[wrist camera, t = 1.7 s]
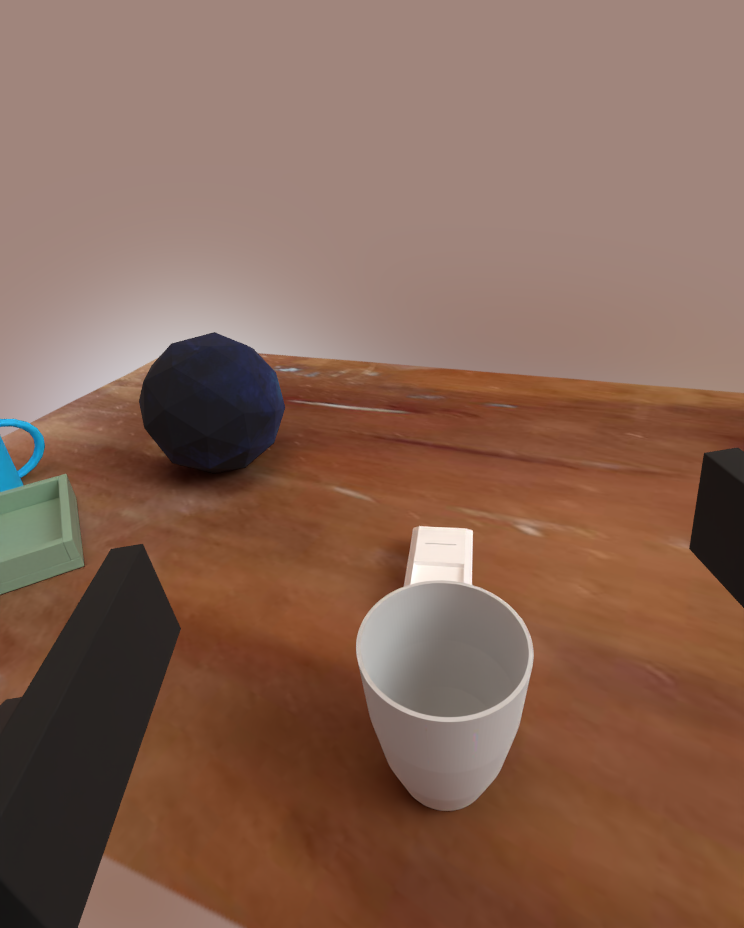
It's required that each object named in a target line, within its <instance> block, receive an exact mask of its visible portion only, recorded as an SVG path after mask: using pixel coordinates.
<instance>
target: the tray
mask: <svg viewBox="0 0 744 928" xmlns="http://www.w3.org/2000/svg"><path fill="white" fill-rule="evenodd" d="M83 566H84V559H83V550H82V542H81V534H80V525H79V517H78V509H77V501H76V496H75V494H74V491H73V489H72V487H71V484H70V482H69V479H68V477H67V475H66V474H64V475H61V476H57V477H53V478H49V479H46V480H42V481H39V482H35V483H31V484H28V485H24V486H21V487H17V488H13V489H10V490H6V491H3V492H0V595H1V594H4V593H6V592H9V591H12V590H15V589H18V588H21V587H24V586H27V585H30V584H33V583H36V582H39V581H42V580H45V579H48V578H51V577H53V576H56V575H59V574H62V573H65V572H68V571H71V570H74V569H77V568H80V567H83Z"/></svg>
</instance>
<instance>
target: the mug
mask: <svg viewBox="0 0 744 928" xmlns="http://www.w3.org/2000/svg"><path fill="white" fill-rule="evenodd" d="M3 426H4V427H5V426H13V427H17V428H22V429H24V430H25V431H27V432H29V433H30V435H31V436H32V437H33V439H34V443H35V448H34V452H33V455H32V457H31V458H30V460H29V461H28V463H26V464H25V465H24V466H23V467H22V468H21V469H20V470H18V471H17V470H16V468H15V466H14V464H13V462H12V459H11V457H10V455H9V453H8V451H7V449H6V447H5V445H4V443H3V440H2V438H1V436H0V492H3V491H6V490H10V489H13V488H17V487H21V486H24V485H23V483H22V481H21V479H20V478H21V477H23V476H25V475H27V474H28V473H29V472H30V471H31V470H32V469H33V468H35V467H36V466H37V464H38V462H39V461H40V459H41V458H42V456H43V452H44V448H45V444H44V438H43V436H42V434H41V433H40V431H39V430H38V429H37V428H36V427H34V426H33V425H31V424H30V423H28V422H25V421H20V420H16V419H0V427H3Z"/></svg>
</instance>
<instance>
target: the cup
mask: <svg viewBox="0 0 744 928" xmlns="http://www.w3.org/2000/svg"><path fill="white" fill-rule="evenodd" d="M356 652H357V659H358V664H359V668H360V673H361V678H362V682H363V687H364V692H365V696H366V701H367V706H368V710H369V715H370V719H371V722H372V724H373V727H374V729H375V732H376V734H377V737H378V739H379V742H380V744H381V747H382V749H383V752H384V754H385V757H386V759H387V762H388V764H389V766H390V767H391V769H392V771H393V772H394V774H395V775H396V776H397V777H398V779H399V780H400V781H401V783H402V784H403V785H404V787H405V788H406V789H407V790H408V792H409V793H410V794H411V795H412V796H413V797H414V798H415V799H416V800H417V801H419V802H420V803H422V804H423V805H425V806H427V807H430V808H432V809H436V810H441V811H453V810H458V809H462V808H464V807H466V806H468V805H470V804H472V803H473V802H474V801H475V800H477V799H478V797H479V796H480V795H481V794H482V793H483V792H484V791H485V790H486V788H487V787H488V786H489V785H490V784H491V783H492V782H493V780H494V779H495V778H496V776H497V775H498V773H499V772H500V770H501V768H502V765H503V763H504V761H505V758H506V756H507V754H508V751H509V749H510V747H511V744H512V742H513V740H514V737H515V735H516V733H517V730H518V727H519V724H520V720H521V715H522V711H523V706H524V702H525V697H526V693H527V688H528V684H529V679H530V675H531V670H532V665H533V644H532V640H531V637H530V634H529V631H528V629H527V627H526V625H525V624H524V622H523V620H522V619H521V618H520V616H519V615H518V614H517V613H516V611H515V610H514V609H513V608H512V607H511V606H509V605H508V604H507V603H506V602H505V601H503V600H502V599H500V598H499V597H497V596H496V595H494V594H492V593H490V592H488V591H486V590H484V589H482V588H479V587H476V586H473V585H470V584H466V583H462V582H456V581H445V580H436V581H425V582H419V583H414V584H411V585H408V586H405V587H402V588H400V589H397V590H395V591H393V592H391V593H390V594H388V595H387V596H385V597H384V598H382V599H381V600H380V601H379V602H377V603H376V604H375V605H374V606H373V607H372V608H371V610H370V611H369V612H368V613H367V615H366V616H365V618H364V620H363V622H362V624H361V626H360V629H359V632H358V636H357V643H356Z"/></svg>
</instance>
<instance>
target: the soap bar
mask: <svg viewBox="0 0 744 928" xmlns="http://www.w3.org/2000/svg"><path fill="white" fill-rule="evenodd" d="M472 545H473V531H472V530H469V529H464V528H444V527H423V526H418V527H415V528H413V533H412V539H411V545H410V551H409V557H408V564H407V570H406V576H405V582H404V587H405V586H408V585H411V584H414V583H419V582H425V581H436V580H445V581H456V582H462V583H466V584H470V585H472Z"/></svg>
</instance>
